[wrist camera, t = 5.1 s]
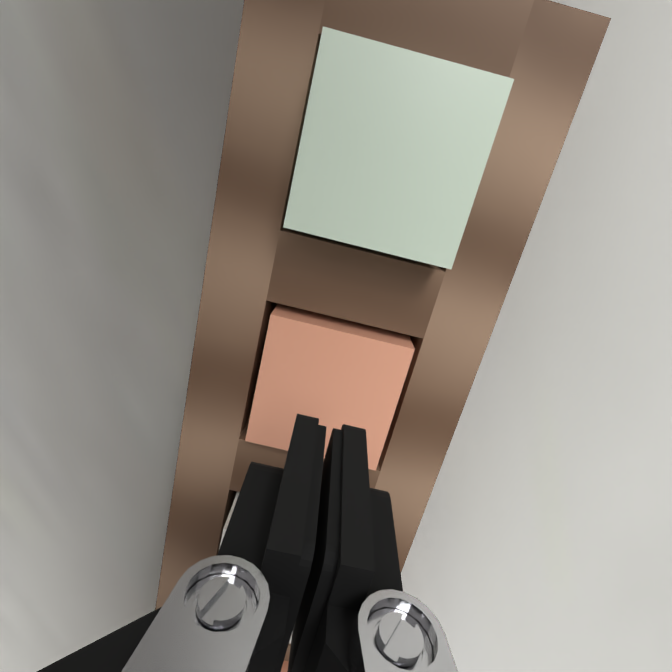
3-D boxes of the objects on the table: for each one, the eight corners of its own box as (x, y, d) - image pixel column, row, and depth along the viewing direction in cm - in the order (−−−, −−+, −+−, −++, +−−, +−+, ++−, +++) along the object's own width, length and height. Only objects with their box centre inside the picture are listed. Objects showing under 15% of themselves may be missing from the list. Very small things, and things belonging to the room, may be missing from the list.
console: (279, -14, 15) (252, -95, 11) (547, 61, 16) (621, 11, 11) (172, 627, 25) (136, 715, 21) (338, 660, 26) (336, 754, 21)
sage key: (328, 63, 14) (323, 26, 11) (478, 104, 14) (514, 79, 11) (296, 220, 15) (283, 227, 12) (431, 254, 15) (451, 269, 12)
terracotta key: (284, 293, 17) (270, 314, 14) (403, 322, 18) (414, 349, 15) (261, 401, 19) (244, 441, 16) (371, 426, 19) (375, 470, 16)
